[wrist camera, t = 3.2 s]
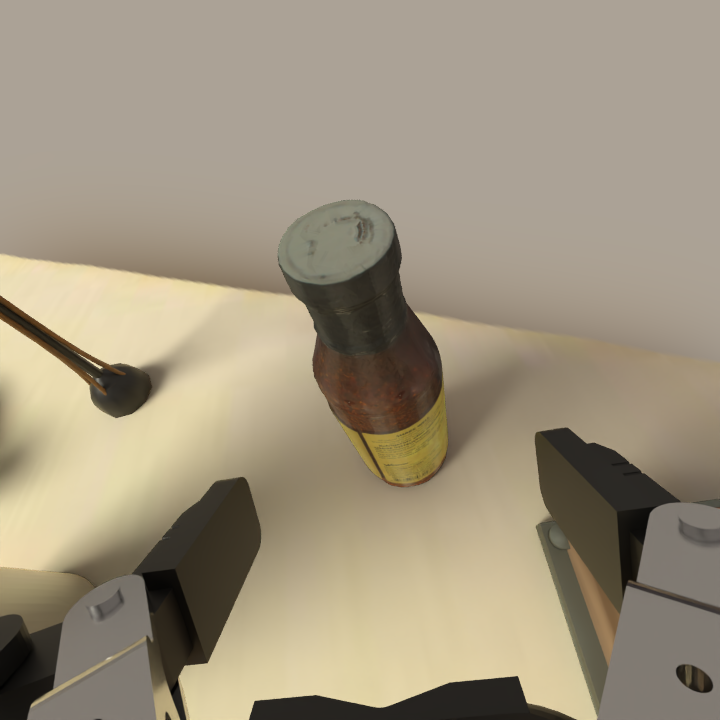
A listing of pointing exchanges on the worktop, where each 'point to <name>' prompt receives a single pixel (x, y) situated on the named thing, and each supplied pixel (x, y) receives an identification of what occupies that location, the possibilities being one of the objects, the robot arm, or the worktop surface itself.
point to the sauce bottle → (368, 339)
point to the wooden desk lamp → (86, 366)
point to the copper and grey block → (584, 606)
